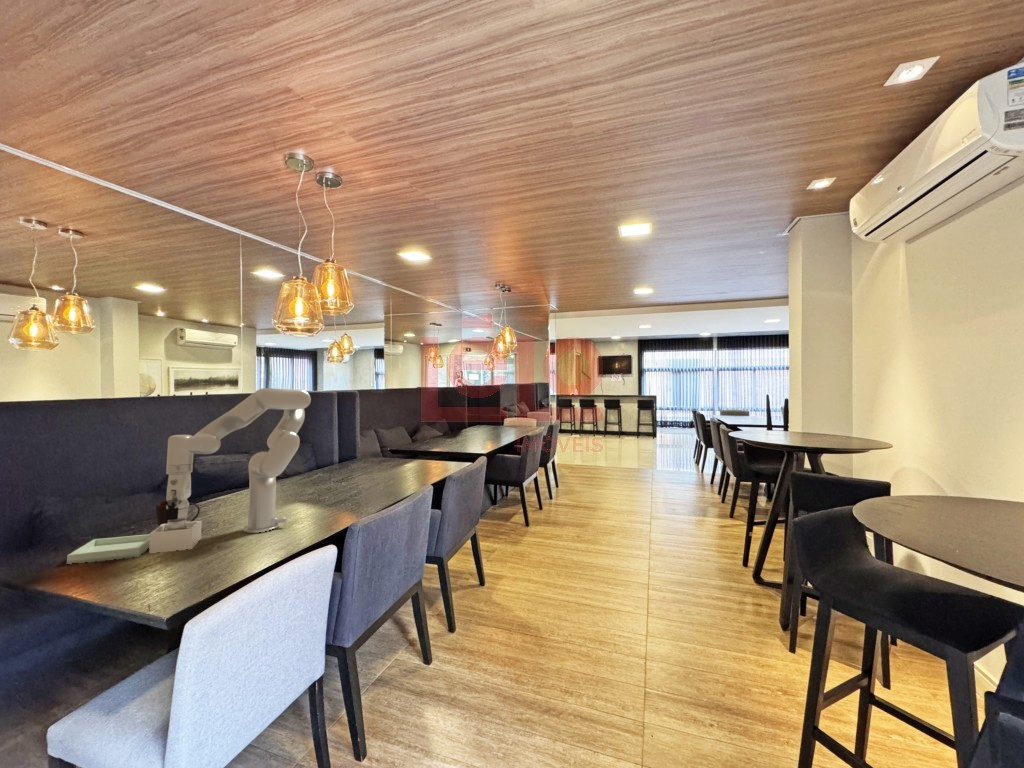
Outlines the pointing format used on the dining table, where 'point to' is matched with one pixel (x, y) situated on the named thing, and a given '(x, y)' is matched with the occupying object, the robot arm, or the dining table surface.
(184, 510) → the plastic bottle
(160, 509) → the mug
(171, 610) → the dining table surface
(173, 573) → the dining table surface
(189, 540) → the white storage bin
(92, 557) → the tray
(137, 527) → the dining table surface
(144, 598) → the dining table surface
